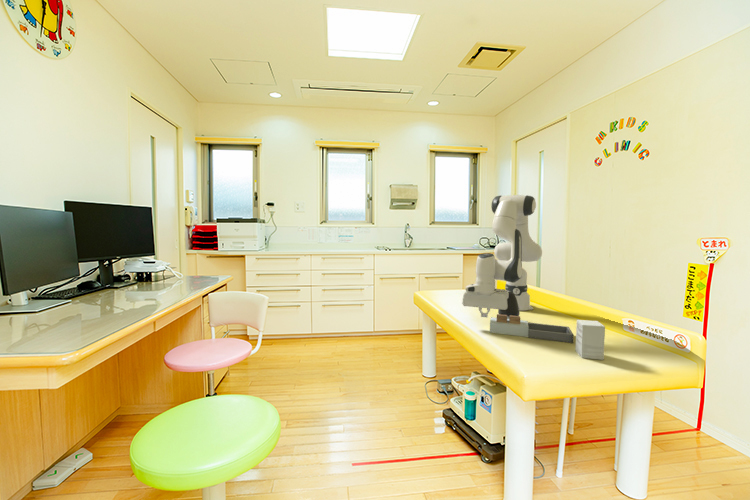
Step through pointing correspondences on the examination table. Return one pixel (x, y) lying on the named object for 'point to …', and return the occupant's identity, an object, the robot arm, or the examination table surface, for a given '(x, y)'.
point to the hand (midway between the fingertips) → (484, 316)
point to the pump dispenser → (511, 306)
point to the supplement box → (590, 339)
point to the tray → (550, 332)
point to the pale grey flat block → (509, 327)
